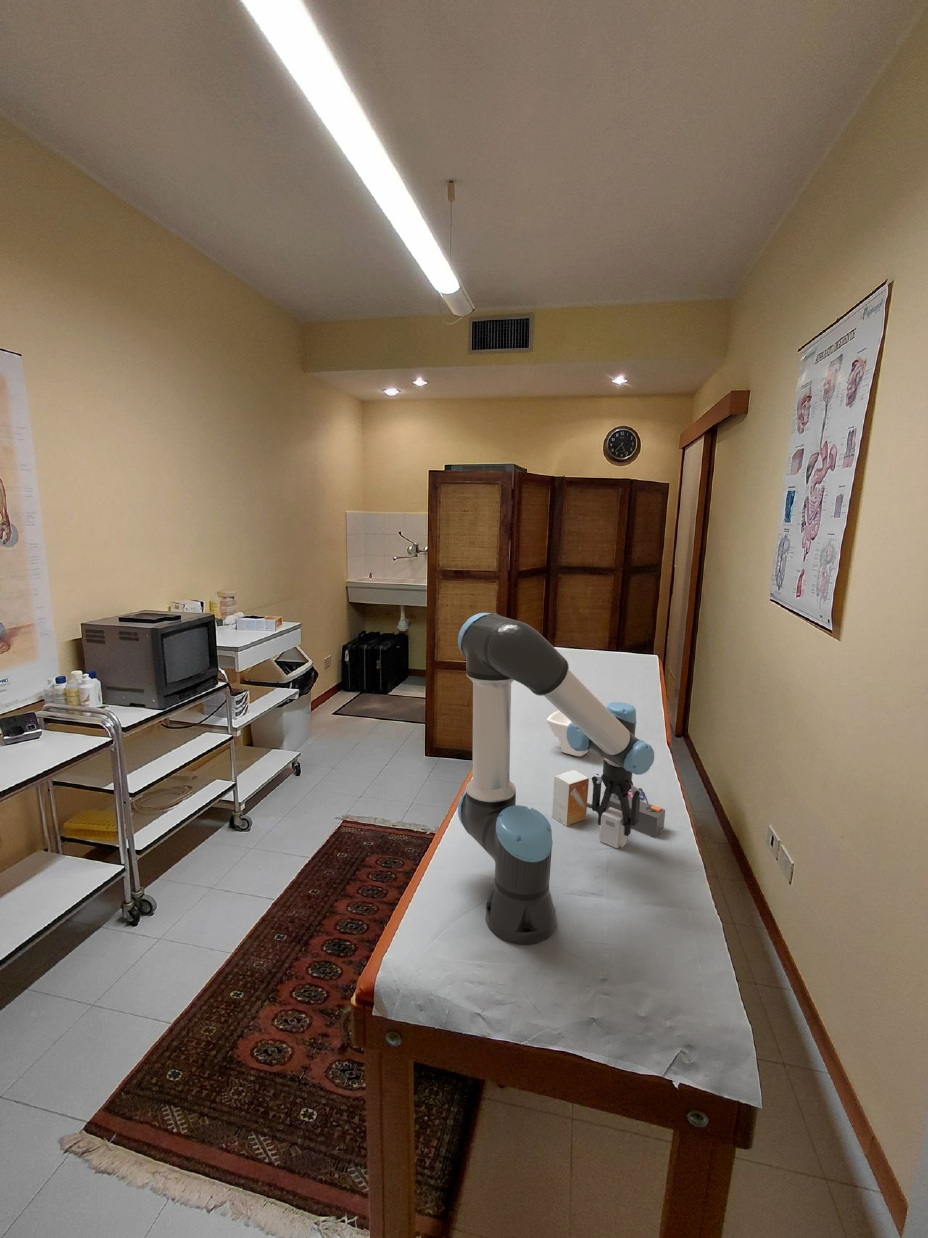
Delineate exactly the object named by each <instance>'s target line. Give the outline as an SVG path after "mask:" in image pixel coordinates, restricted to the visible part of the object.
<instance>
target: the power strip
mask: <svg viewBox="0 0 928 1238" xmlns="http://www.w3.org/2000/svg"><path fill="white" fill-rule="evenodd" d="M628 800H629V806H630V811H631V808H632V798H630V797H628ZM610 807H612V808H614V809H617V810H620V811H622V809H621V804H620V800H619V798H618V796H617V795H615V794H612V795H611V797H610V800H609V803H608V806H607V809H608V808H610ZM587 808H590V809H592V803H589V802H587ZM607 809H606V810H607ZM665 816H666V809H665V808H663V807H661V806H658V805H654V804H650V803H649V802H648V803H645V802H642V801H640V809H639V822H638V823H637V824H636V825H635V826H632V825H631V830H633V831H636V832H639V833H641V834H644V835H646V836H649V837H651V838H654V839H656V838H657V837H658V836H659V835H660V833H662V832H663V831H664V829H665V818H666V817H665Z"/></svg>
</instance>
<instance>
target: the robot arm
mask: <svg viewBox="0 0 928 1238" xmlns="http://www.w3.org/2000/svg"><path fill="white" fill-rule="evenodd" d="M457 645H458V650H459V651H460V653H461V654H462V656H463V657H464V658H465V659H466V660H465V661H466V662H465V663H466V665H465V667H466V668H465V670H466V671H465V673H466V677H467V678H468V679H470V681H471V682H472V779H471V780H469V781H468V782H467V783H466V786H465V790H464V791H463V795H461V796H460V798H459V800H458V803H457V814H458V815H457V816H458V818H459V821H460V823H461V825H462V827H463V828H464V829H465V831H466V832H467V833H468V834H469V835H470V836H471V837H472V838H473V839H474V841H476V842H477V843H478V845H479V846H480V847H481V848H483V849H484V851H485V852H486V853H487V854H488V855H489V856H490V857H491V858H492V859H493V861H494V864H495V865H494V867H495V868H494V884H493V886H492V888H491V891H490V892H489V896H488V898H487V900H486V905H485V922H486V925H487V927H488V928H489V929H490V931H491V932H492V933H493V934H494V935H495V936H497V937H499V938H501V939H502V940H504V941H506V942H508V943H513V944H518V945H531V944H532V945H533V944H538V943H540V942H543V941H544V940H546V939H547V938H549V937H550V936H551V935H552V934H553V932H554V931H555V929H556V919H557V913H556V908H555V905H554V902H553V897H552V894H551V891H550V878H551V865H552V864H551V862H552V851H553V833H552V832H553V831H552V827H551V823H550V822H549V820H548V818H547V817H546V816H545V815H544V814H543V813H542V812H540V811H539V810H537V809H536V808H533V807H531V808H529V807H528V806H526V805H516V803H517V802H516V801H517V800H516V799H517V797H516V796H517V787H516V785H515V784H514V783H513V782H512V781H511V780H510V774H511V773H510V772H511V770H510V769H511V767H510V765H511V725H512V724H511V717H512V684H513V682H514V681H515V682H517V683H520V684H521V685H522V686H524V687H526V688H527V689H528V690H529V691H531V692H532V693H533V694H535V696H540V697H545V698H546V700H548V702H550V704H552V705H553V706H554V707H555V708H556V709H557V711H558V710H559V711H561V712H562V713H563V714H564V715H565V716H566V717H567V718H568V719H569V720H570V721H571V723H570V724H569V725H568V727H567V734H566V737H567V741H568V743H569V745H570V746H571V748H572V749H574V750H575V751H586V750H588V751H591V752H593V753H595V754H597V755H599V756H601V758H603V761H602V763H603V766H602V774H601V775H600V774H599V773H597V774H595V775H594V776H593V777H591V780H592V781H591V782H592V785H593V786H592V798H591V799H592V800H591V804H592V808H591V810H592V811H593V812H596V814H597V825H598V826H600V829H599V832H600V833H599V835H600V834H601V820H602V814H603V813H604V812H605V811H606V809H607V806H608V803H609V800H610V797H611V795H612V794H615V795H617V796H618V798H619V800H620V804H621V809H622V815H623V820H624V822H623V823H622V824H621V833H620V846H619V848H623V847H625V846H626V844H628V843H627V842H628V837H629V836H630V834H631V832H632V829H631V825H632V826H635V825H636V824H637V823H638V822H639V809H640V796H641V794H642V792H644V790H643V789H642V788H641V787H639V788H637V787H636V786H635V785H634V783H633V780H632V779H633V774H634V775H638V776H639V775H644V774H645V773H647V772H648V771H649V770H650V768H651V767H652V766H653V764H654V761H655V750H654V748H653V747H652V746H651V745H650V744H648V743H647V742H645V740H643V739H639V738H637V737H636V728H637V727H636V726H637V710H636V707H635V706H634V705H631V704H630V703H627V702H622V701H621V702H620V701H615V702H614V701H613V702H610V703H609V704H607V705H606V706H605V705H604V703H602V702H601V701H600V700H599V699H598V697H596V696H595V695H594V694H593V693H592V692H591V691H590V689H588V688H587V686H585V684H584V683H582V681H580V679H579V678H578V677H577V676H576V675H575V674H574V673H573V672H572V671H571V670H570V666H569V662H568V661H567V659H566V658H565V657H564V656H563V654H561V653H560V652H559V651H558V650H557V649H556V648H555V646H554V645H553V644H552V643H551V642H549V640H547V639H546V638H545V637H544V636H543V634H541V633H540V632H539V631H538V630H537V629H535V628H534V627H532V626H531V625H529V623H526V622H522V621H521V620H516V619H512V618H509V617H506V616H502V615H501V614H498V613H491V612H480V613H476V614H474V615H472V616H471V617H469V618H468V619H467V620H466V621H465V623H463V625H462V626H461V628H460V630H459V632H458V637H457ZM602 783H603V785H604V787H605V788H604V792H603V797H602V799H601V794H602ZM629 790H630V791H632V796H633V797H632V808H631V811H630V806H629V800H628V791H629Z"/></svg>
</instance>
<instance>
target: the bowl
mask: <svg viewBox="0 0 928 1238" xmlns="http://www.w3.org/2000/svg"><path fill="white" fill-rule="evenodd" d="M546 722H547V724H548V725H549V727H550V729H551V731H552V733H553V735H554V737H556V738H558V742H559V746H560V750H561V752H562V753H565V754H567V755H572V756H574V757H582V756H584V755H585V754H587V753H588V752H589V750H586V751H575V750H574V749H572V748H571V746H570V745H569V743H568V741H567V737H566V734H567V727H568V725H569V724H570V723H571V721H570V720H569V719H568V718H567V717H566V716H565V715H564V714H563V713H562V712H561V711H559V710H558V709H557V710H556V711H554V712H553V713H551V714H550V715H548V717H547V718H546Z"/></svg>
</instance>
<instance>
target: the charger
mask: <svg viewBox="0 0 928 1238" xmlns="http://www.w3.org/2000/svg"><path fill="white" fill-rule="evenodd" d="M623 822H624V820H623V815H622V811H620V810H617V809H614V808H612V807H610V808H608V809H607V810H606V811H605V812H604V813H603V814H602V820H601V826H600V827H601V834H600V833H599V841H600V842H601V843H603V844H606V845H608V846H611V847H613V848H615V849H619V848H620V833H621V824H622V823H623Z"/></svg>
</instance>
